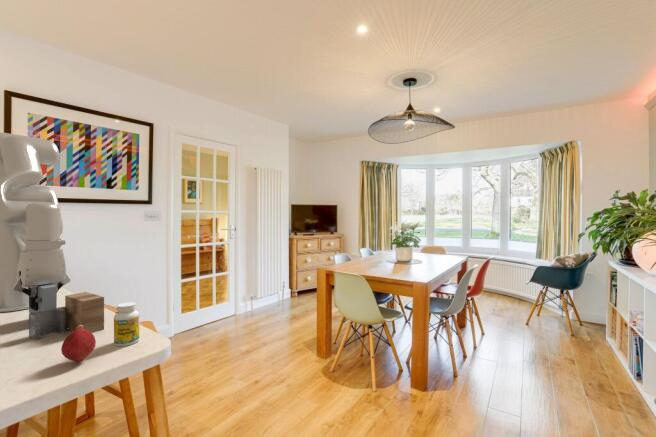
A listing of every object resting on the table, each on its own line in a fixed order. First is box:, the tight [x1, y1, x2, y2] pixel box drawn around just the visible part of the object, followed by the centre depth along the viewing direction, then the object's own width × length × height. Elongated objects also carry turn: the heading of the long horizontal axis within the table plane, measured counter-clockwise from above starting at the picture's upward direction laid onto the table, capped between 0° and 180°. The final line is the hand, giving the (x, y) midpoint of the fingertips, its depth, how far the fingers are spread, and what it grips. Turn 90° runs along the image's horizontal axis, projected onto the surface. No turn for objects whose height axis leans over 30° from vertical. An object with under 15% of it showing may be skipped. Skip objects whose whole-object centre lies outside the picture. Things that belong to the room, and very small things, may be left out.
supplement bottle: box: [113, 301, 140, 347], centre depth 80 cm, size 5×5×10 cm
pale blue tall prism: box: [28, 284, 58, 314], centre depth 93 cm, size 10×4×9 cm, turn 60°
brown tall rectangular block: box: [64, 291, 105, 334], centre depth 88 cm, size 10×5×9 cm, turn 60°
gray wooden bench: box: [28, 306, 68, 341], centre depth 85 cm, size 4×9×6 cm, turn 150°
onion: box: [60, 325, 97, 363], centre depth 69 cm, size 6×6×8 cm
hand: (42, 307), depth 94 cm, fingers closed on pale blue tall prism, 3 cm apart
